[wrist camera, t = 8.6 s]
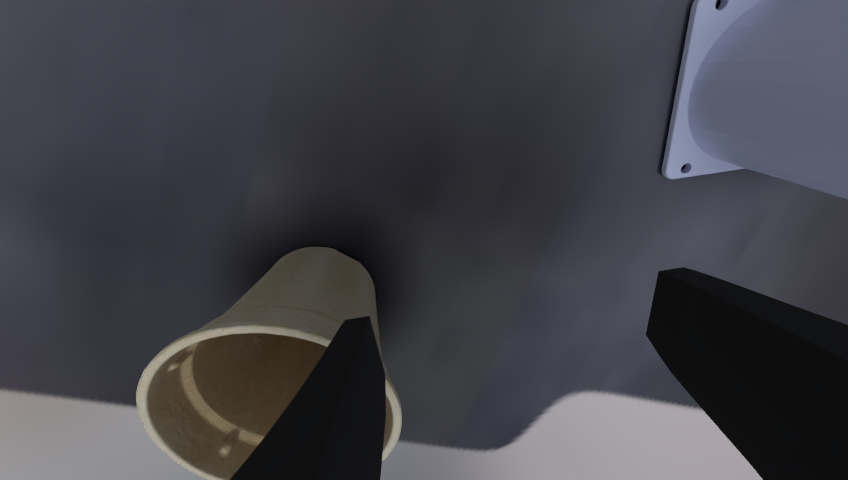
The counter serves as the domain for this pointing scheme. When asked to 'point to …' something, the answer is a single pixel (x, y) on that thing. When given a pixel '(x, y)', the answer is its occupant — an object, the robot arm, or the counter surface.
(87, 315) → the counter surface
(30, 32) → the counter surface
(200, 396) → the flower pot
